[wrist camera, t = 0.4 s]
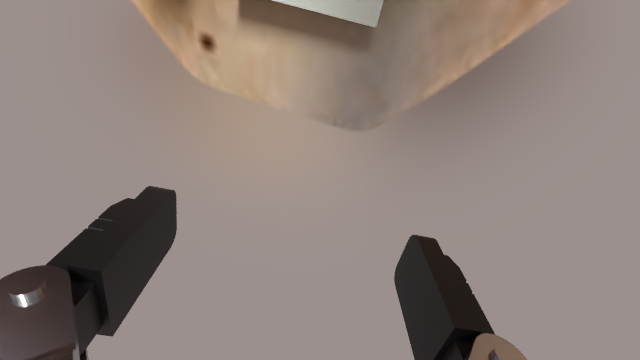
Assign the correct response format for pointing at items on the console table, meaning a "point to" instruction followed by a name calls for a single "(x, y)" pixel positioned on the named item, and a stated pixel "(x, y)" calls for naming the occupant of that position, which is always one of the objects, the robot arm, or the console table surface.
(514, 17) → the console table surface
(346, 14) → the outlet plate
